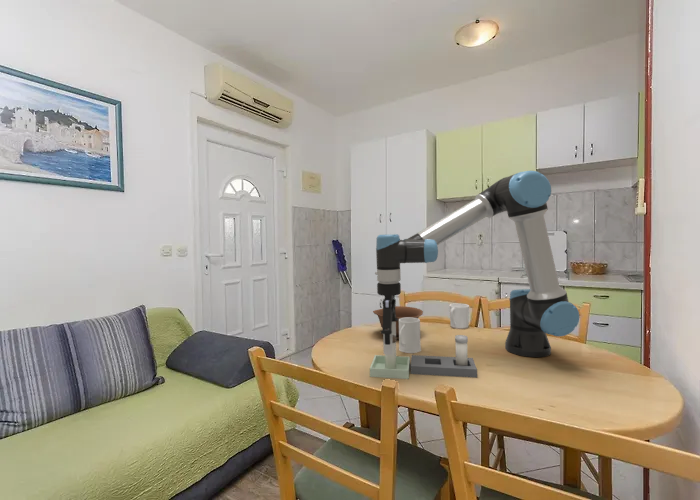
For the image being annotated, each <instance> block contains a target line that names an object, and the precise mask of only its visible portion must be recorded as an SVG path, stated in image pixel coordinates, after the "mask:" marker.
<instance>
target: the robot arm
mask: <svg viewBox="0 0 700 500" xmlns="http://www.w3.org/2000/svg"><path fill="white" fill-rule="evenodd" d="M551 196H552V184H551V183H550V180H549V179H548V178H547V176H546V175H544V174H543V173H541V172H539V171H537V170H525V171H519V172H517V173H513V174H512V175H509V176H505V177H503V178H501V179H499V180H497V181H496V182H494V183H493V184H491V185H489V187H487V188H486V189H484V190H483V191H481V192H480V193H478V194H476V195H475V196H474V197H475V198H474V199H473V200H472V201H470V202H468V203H466V204H465V205H463V206H461V207H459V208H458V209H456V210H455V211H453V212H450V213H449V214H448V215H445V216H444V217H442V218H441V219H439V220H437V221H435V222H433V223H432V224H431V225H429V226H427V227H425V228H423V229H422V230H420V231H419V232H416V233H415V234H413V235H411V236H410V237H408V238H403V240H402V239H401V238H400V234H396V233H394V234H391V233H390V234H379V235H377V237H376V248H375V252H376V253H375V254H376V271H375V273H374V274H375V275H377V277H376V281H377V282H378V283H377V284H376V289H377V290H376V291H377V294H378V295H379V296H384V298H383V300H382V303H381V304H382V309H383V328H382V329H381V330H380V334H381V335H383V337H382V341H383V343H382V346H383V348H382V349H383V355H385V354H389V355H392V354H393V346H392V335H395V336H396V322H394V321H398V318H396V311H395V307H396V306H397V305H396V303H397V301H396V300H397V299H396V298H395V296H399V295H400V294H401V293H402V292H401V289H402V288H401V283H400V281H402V280H401V264H419V263H420V264H421V263H423V264H427V263H434V262H436V261H437V259H438V256H439V248H438V247H439V245H440V244H442V243H444V242H446V241H447V240H449V239H450V238H453V237H454V236H456V235H457V234H459V233H461V232H463V231H464V230H466V229H468V228H470V227H472V226H473V225H475V224H476V223H478V222H480V221H482V220H484V219H485V218H492V217H494V216H496V215H498V214H500V213H504V212H506V213H507V217H508V219H510V220H512V221H513V222H514V226H515V229H516V233H517V238H518V243H519V246H520V247H519V248H520V251H521V254H522V260H523V264H524V267H525V269H524V270H525V272H526V278H527V280H528V281H527V283H528V286H529V288H523V289H512V290H511V291H510V293H509V323H510V324H509V331H508V332H507V337H506V339H505V341H504V342H505V343H504V344H505V346H504V347H505V350H506V351H507V352H509V353H511V354H514V355H518V356H521V357H528V358H545V357H548V356H550V355H551V354H552V347H551V344H550V342H549V341H550V340H549V338H548V335H549V336H550V335H551V336H554V337H565V336H568V335H570V334H572V333H573V332H574V330H575V328H576V327H577V326H578V325H579V323H580V312H579V309H578V308H577V307H576V305H574V304H573V303H572V302H570V301H569V297H568V293H567V291H566V289H564V288H562V287H561V286H560V282H559V278H558V273H557V270H556V265H555V260H554V256H553V251H552V247H551V243H550V238H549V233H548V229H547V225H546V220H545V214H546V212H547V211H548V204H547V202H548V201H549V199H550V197H551Z"/></svg>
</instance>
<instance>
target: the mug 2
mask: <svg viewBox="0 0 700 500" xmlns="http://www.w3.org/2000/svg"><path fill="white" fill-rule="evenodd" d="M448 306H449V308H448V309H449V320H450V328H453V329H456V330H466V329H468V328H469V323H470V322H469V318H470V316H469V315H470V305H469V304H466V303H460V302H459V303H451V304H449V305H448Z"/></svg>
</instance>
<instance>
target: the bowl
mask: <svg viewBox="0 0 700 500" xmlns="http://www.w3.org/2000/svg"><path fill="white" fill-rule="evenodd" d="M395 311H396V318H398V321H394V322H396V339H399V319H400V318H405V317H413V318H418V319H419V318H420V317H421V316H422V315H424V314H423V313H424V310H422V309H420V308H417V307H415V306H414V307H413V306H403V305H402V306H399V305H396V307H395ZM372 312H373V314H374V315H376V316H377V318H378V319H379V320H378V321H379V324H380V327H381V328H382V329H383V308H380V309H375V310H373V311H372Z"/></svg>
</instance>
